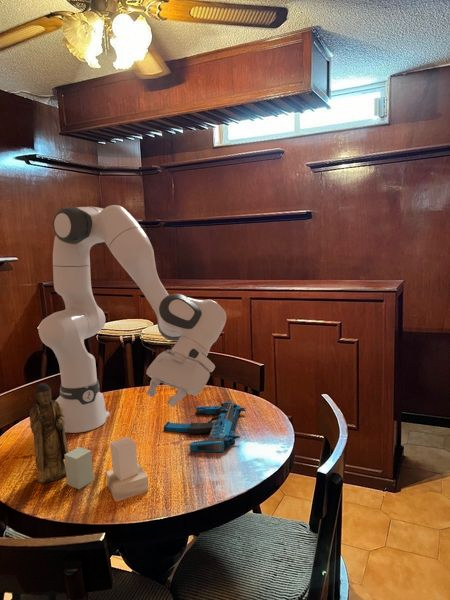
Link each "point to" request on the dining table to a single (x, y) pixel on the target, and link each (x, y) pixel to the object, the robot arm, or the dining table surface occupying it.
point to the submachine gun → (212, 427)
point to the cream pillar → (124, 458)
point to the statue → (48, 435)
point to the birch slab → (127, 484)
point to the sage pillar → (79, 467)
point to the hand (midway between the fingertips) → (159, 400)
